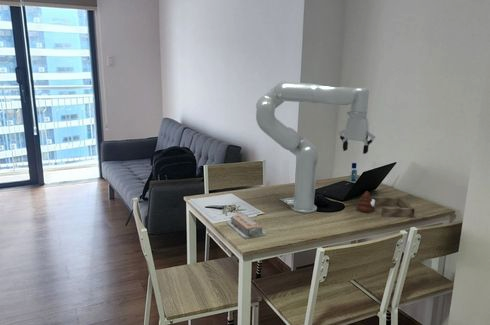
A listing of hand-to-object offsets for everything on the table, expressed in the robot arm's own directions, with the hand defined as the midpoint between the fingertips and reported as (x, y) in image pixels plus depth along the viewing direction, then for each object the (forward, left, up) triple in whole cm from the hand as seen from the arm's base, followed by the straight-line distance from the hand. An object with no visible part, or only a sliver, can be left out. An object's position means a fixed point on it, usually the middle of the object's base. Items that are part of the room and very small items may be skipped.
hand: (355, 151), depth 189 cm
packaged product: (-50, -28, -29) cm, 64 cm away
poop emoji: (+8, 0, -29) cm, 30 cm away
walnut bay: (+20, 0, -29) cm, 35 cm away
